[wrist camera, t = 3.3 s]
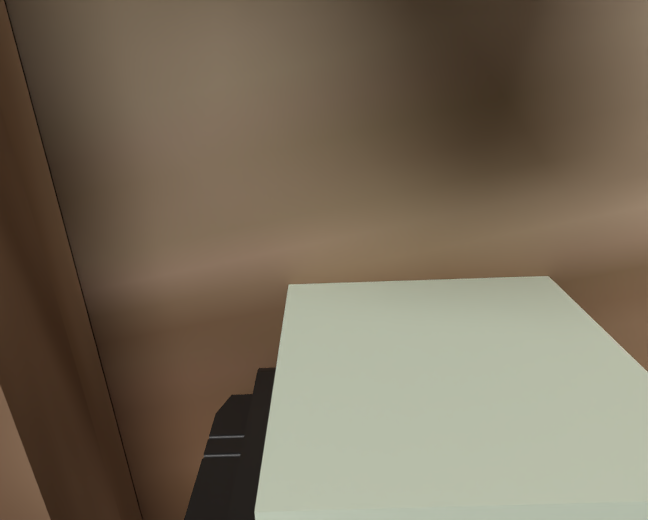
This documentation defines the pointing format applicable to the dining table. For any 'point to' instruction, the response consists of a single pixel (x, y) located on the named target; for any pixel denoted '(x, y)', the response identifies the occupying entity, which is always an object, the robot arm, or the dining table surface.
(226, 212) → the dining table surface
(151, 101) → the dining table surface
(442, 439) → the sage block
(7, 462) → the walnut tray
